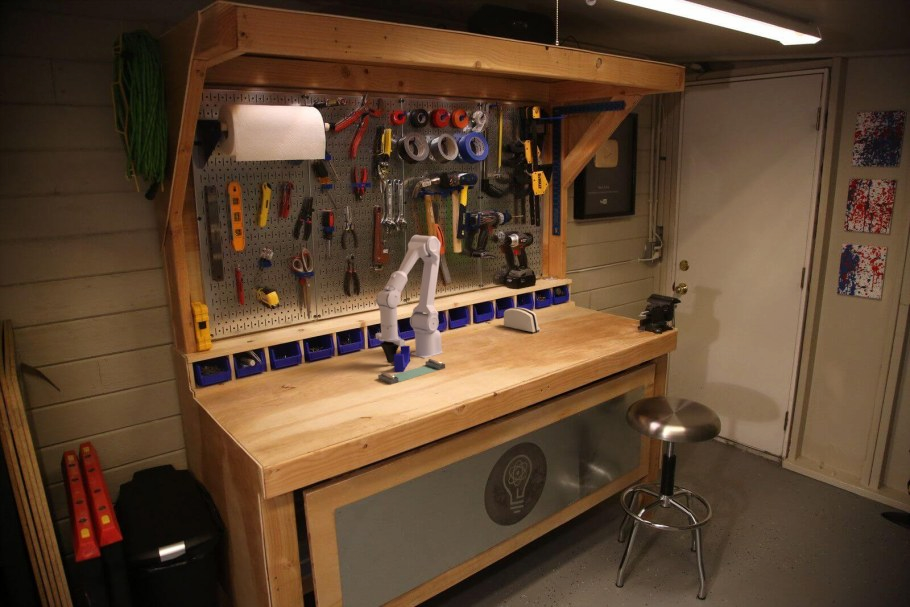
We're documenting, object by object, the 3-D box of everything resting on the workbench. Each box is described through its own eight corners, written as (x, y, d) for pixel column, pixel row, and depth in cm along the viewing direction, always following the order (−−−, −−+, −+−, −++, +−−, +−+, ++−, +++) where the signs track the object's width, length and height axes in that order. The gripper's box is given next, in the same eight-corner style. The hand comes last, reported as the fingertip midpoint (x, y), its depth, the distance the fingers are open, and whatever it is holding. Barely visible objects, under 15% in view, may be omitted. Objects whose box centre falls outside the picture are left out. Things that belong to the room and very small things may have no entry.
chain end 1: (385, 377, 203) (385, 370, 202) (398, 382, 198) (398, 375, 197) (378, 379, 201) (378, 372, 200) (390, 384, 196) (390, 377, 195)
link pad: (424, 366, 213) (424, 365, 213) (437, 370, 208) (437, 370, 208) (387, 376, 203) (387, 376, 203) (399, 381, 198) (399, 381, 198)
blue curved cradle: (397, 361, 220) (397, 345, 219) (410, 361, 219) (409, 345, 218) (390, 372, 208) (389, 355, 207) (403, 372, 208) (402, 355, 206)
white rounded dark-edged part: (541, 332, 254) (539, 309, 251) (533, 335, 251) (532, 312, 248) (510, 325, 266) (508, 303, 263) (503, 329, 263) (501, 306, 260)
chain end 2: (432, 363, 216) (431, 357, 215) (445, 368, 211) (444, 361, 210) (425, 365, 214) (425, 359, 213) (438, 370, 209) (438, 363, 208)
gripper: (367, 323, 214) (369, 360, 217) (392, 330, 203) (393, 369, 206) (384, 319, 219) (386, 356, 222) (408, 326, 208) (410, 364, 211)
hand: (390, 362), depth 214 cm, fingers closed
